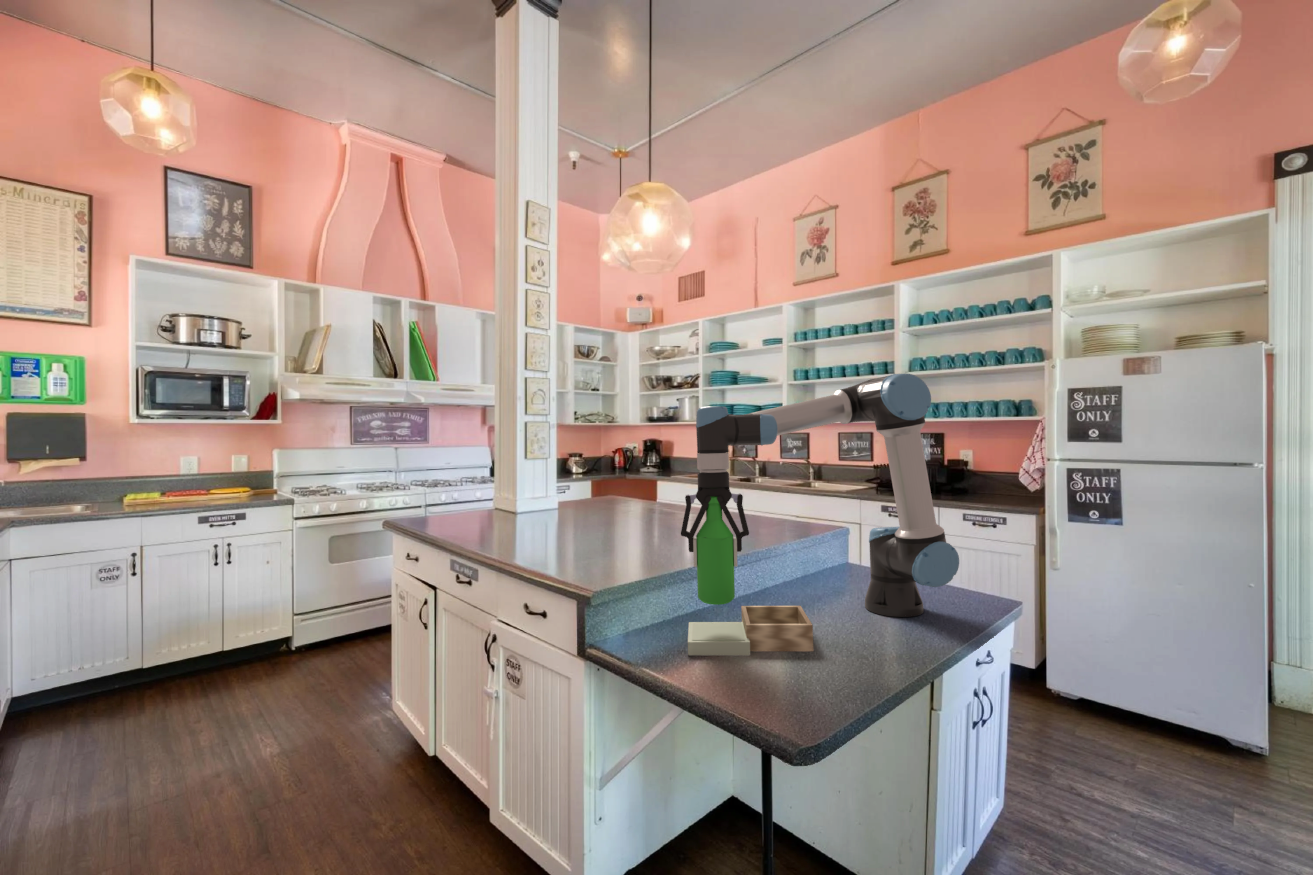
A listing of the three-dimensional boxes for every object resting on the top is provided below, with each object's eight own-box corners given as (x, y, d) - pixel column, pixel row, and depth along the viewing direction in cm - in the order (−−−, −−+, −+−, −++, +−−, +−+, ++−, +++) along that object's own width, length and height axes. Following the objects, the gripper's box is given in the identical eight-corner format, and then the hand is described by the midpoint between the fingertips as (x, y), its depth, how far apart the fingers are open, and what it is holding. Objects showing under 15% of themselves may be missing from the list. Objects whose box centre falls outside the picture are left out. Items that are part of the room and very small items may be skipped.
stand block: (745, 633, 140) (744, 621, 140) (750, 655, 126) (749, 641, 126) (689, 633, 141) (688, 621, 141) (688, 655, 127) (687, 641, 127)
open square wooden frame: (801, 629, 142) (800, 605, 142) (813, 651, 127) (812, 625, 127) (741, 629, 143) (741, 605, 143) (747, 651, 128) (746, 625, 129)
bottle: (722, 608, 127) (720, 498, 128) (690, 602, 133) (688, 496, 133) (741, 598, 134) (738, 494, 135) (710, 593, 140) (708, 493, 140)
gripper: (757, 469, 137) (759, 561, 137) (669, 471, 138) (671, 562, 138) (760, 471, 129) (762, 568, 129) (667, 472, 131) (669, 569, 131)
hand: (715, 565), depth 134 cm, fingers closed on bottle, 9 cm apart
